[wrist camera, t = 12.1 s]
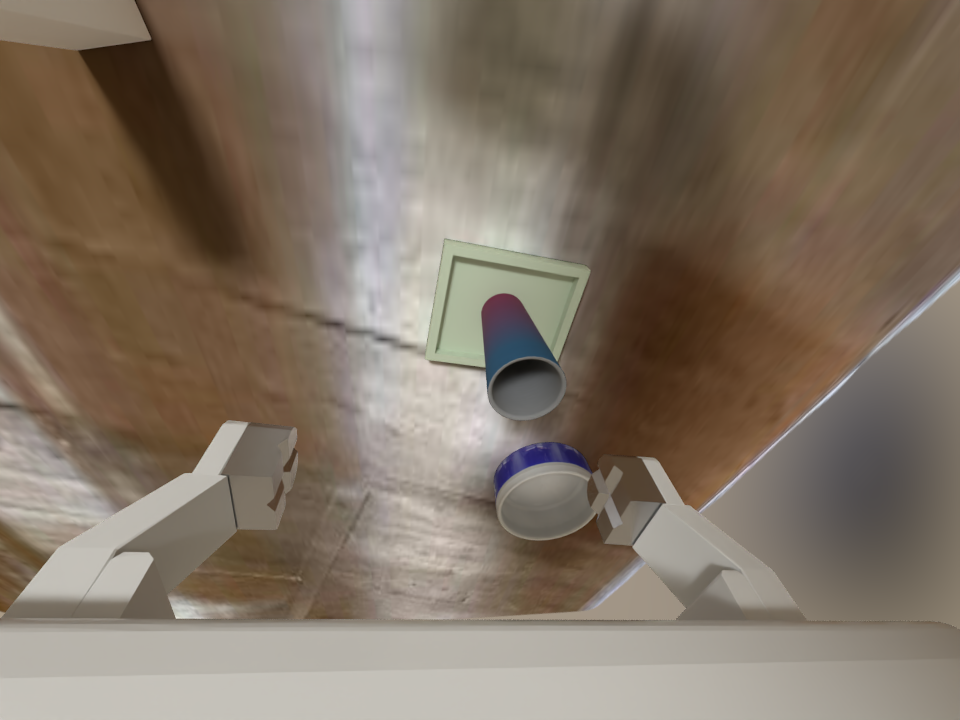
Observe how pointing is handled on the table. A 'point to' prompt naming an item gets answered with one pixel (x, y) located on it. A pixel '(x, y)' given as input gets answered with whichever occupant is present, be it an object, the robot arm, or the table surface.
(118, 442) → the table surface
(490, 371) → the cup
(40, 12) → the milk
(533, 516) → the dog bowl
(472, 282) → the tray
